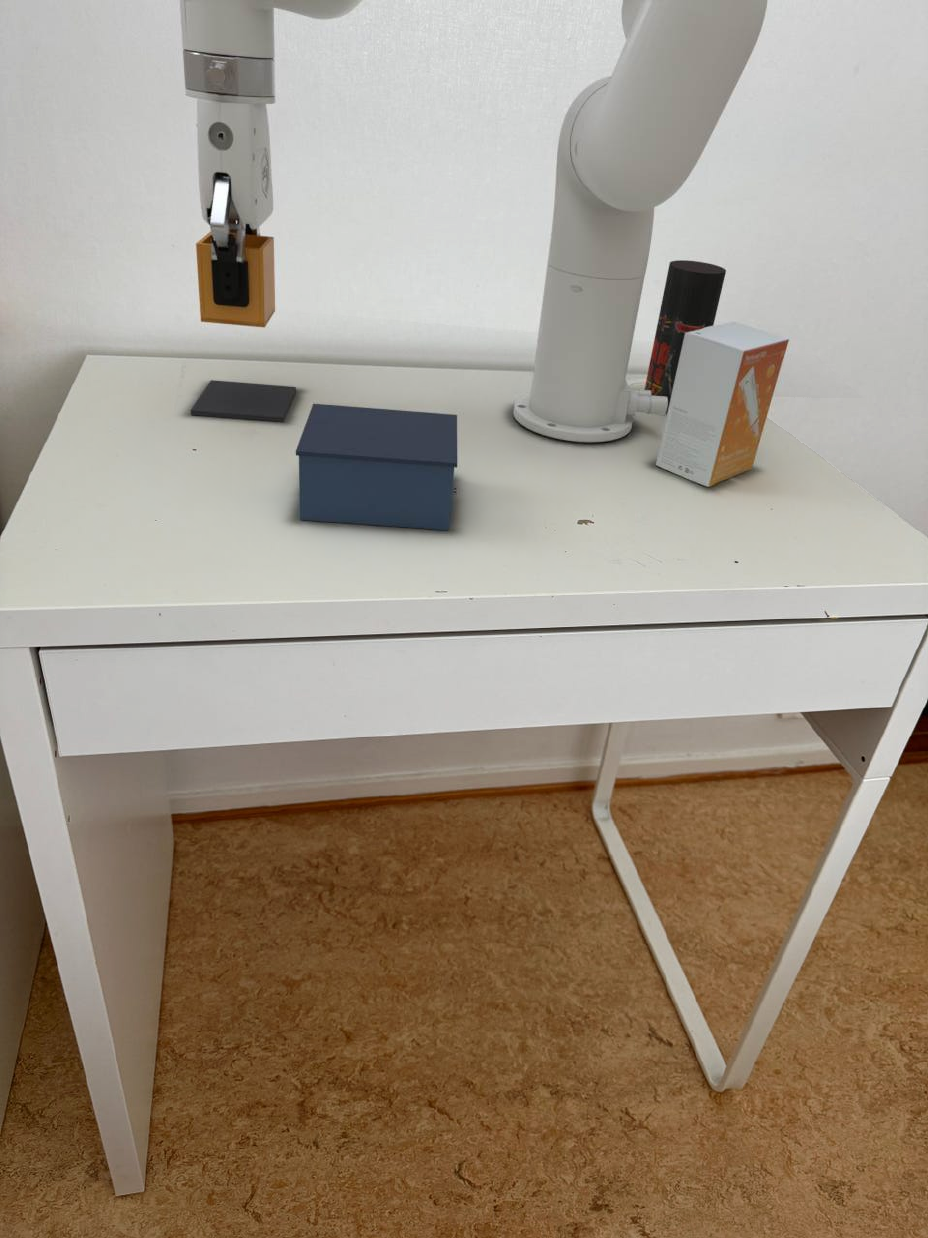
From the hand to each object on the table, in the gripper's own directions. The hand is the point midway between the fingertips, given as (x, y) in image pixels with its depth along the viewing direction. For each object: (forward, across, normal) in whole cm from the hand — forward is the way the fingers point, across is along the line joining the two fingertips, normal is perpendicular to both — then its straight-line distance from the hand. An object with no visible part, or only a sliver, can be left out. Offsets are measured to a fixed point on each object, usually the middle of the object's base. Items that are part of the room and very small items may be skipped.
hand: (238, 294), depth 88 cm
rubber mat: (+11, 0, 0) cm, 11 cm away
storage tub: (+11, -20, -15) cm, 27 cm away
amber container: (+2, 0, 0) cm, 2 cm away
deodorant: (+11, +10, -46) cm, 49 cm away
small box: (+11, -8, -46) cm, 48 cm away
